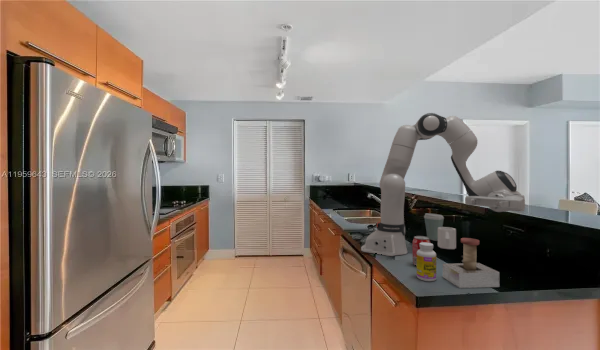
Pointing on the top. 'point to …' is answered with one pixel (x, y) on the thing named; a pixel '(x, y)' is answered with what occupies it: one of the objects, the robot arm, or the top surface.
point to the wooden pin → (469, 253)
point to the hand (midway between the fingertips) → (485, 203)
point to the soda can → (416, 246)
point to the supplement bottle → (426, 262)
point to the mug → (446, 237)
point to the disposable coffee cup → (433, 225)
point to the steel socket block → (471, 276)
